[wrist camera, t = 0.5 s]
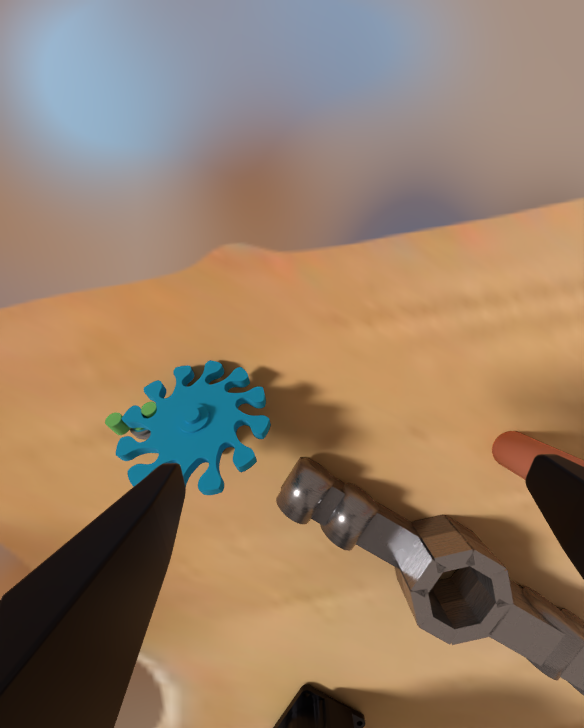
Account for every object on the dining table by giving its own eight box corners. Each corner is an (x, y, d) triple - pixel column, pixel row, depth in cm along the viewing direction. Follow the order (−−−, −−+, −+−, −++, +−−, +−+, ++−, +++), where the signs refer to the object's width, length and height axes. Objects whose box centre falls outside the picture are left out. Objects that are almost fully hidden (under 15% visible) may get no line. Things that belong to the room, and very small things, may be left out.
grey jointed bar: (552, 668, 26) (602, 732, 22) (266, 505, 25) (261, 541, 20) (600, 607, 26) (660, 660, 22) (311, 435, 24) (316, 457, 20)
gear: (278, 359, 22) (250, 505, 15) (285, 402, 26) (265, 529, 20) (138, 351, 23) (59, 483, 17) (167, 393, 28) (114, 510, 21)
